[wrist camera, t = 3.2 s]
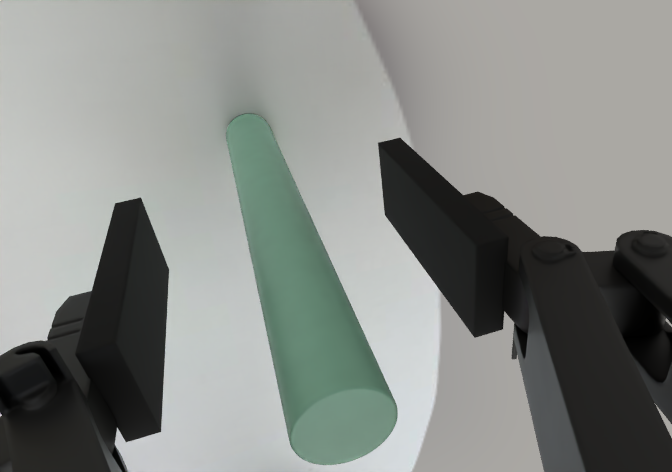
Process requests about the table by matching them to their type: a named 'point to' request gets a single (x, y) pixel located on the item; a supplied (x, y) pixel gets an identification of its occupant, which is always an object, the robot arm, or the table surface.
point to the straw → (306, 312)
